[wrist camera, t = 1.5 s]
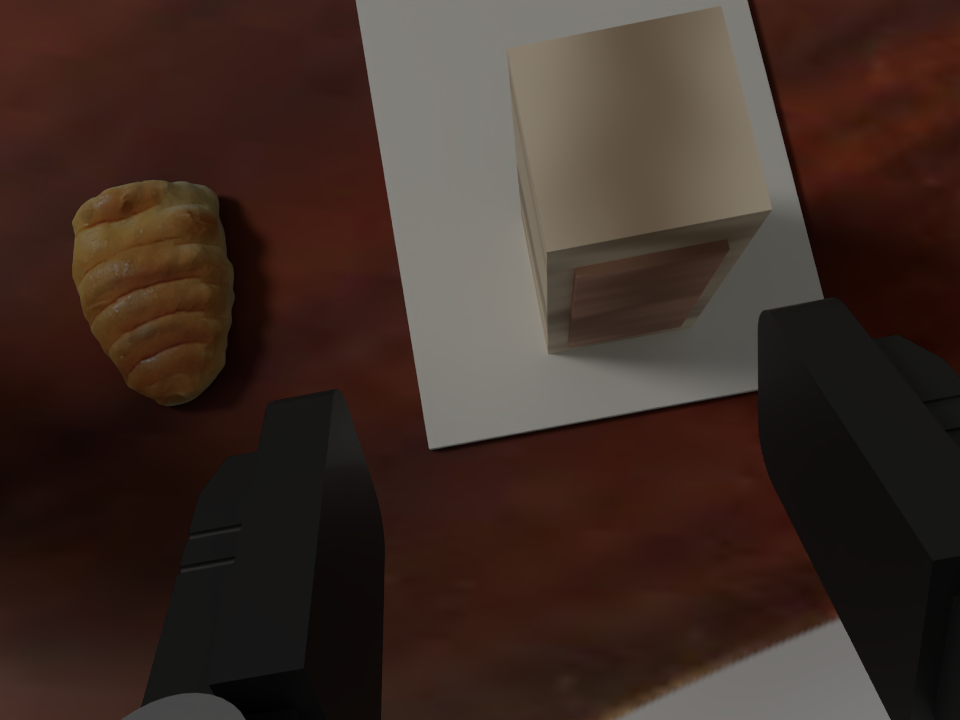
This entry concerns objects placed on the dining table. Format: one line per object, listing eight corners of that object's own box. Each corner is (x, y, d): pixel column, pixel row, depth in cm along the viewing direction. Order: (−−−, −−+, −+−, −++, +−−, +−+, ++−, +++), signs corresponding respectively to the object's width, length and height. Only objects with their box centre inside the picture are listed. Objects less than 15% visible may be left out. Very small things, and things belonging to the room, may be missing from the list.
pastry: (269, 382, 40) (239, 366, 36) (120, 427, 40) (75, 416, 36) (221, 185, 41) (188, 150, 38) (79, 229, 42) (32, 199, 38)
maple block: (548, 360, 38) (548, 263, 24) (521, 218, 39) (506, 48, 26) (693, 334, 38) (775, 220, 24) (660, 191, 39) (721, 5, 25)
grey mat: (430, 450, 38) (429, 449, 38) (341, -95, 43) (339, -102, 43) (839, 375, 38) (843, 373, 37) (700, -169, 43) (701, -177, 42)
